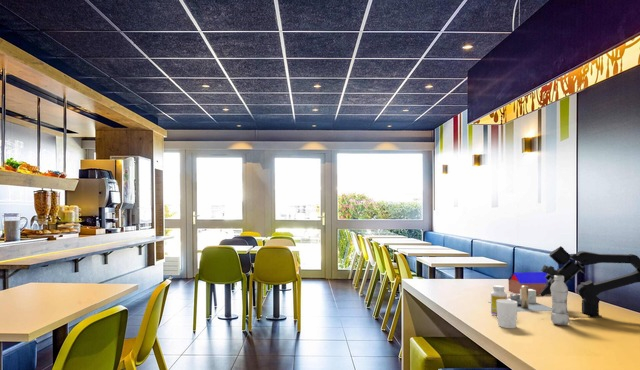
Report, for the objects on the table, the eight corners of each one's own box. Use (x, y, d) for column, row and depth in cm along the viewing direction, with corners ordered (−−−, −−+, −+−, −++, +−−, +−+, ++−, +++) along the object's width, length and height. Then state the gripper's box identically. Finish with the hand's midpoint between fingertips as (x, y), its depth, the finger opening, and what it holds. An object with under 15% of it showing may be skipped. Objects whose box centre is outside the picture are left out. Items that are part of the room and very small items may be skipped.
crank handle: (535, 308, 199) (535, 286, 200) (517, 308, 198) (517, 286, 199) (517, 301, 214) (517, 280, 215) (500, 301, 213) (500, 281, 214)
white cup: (500, 322, 179) (499, 298, 179) (520, 325, 174) (519, 301, 174) (494, 326, 173) (493, 301, 173) (514, 330, 168) (514, 304, 168)
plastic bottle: (560, 327, 172) (559, 277, 173) (547, 323, 178) (546, 274, 179) (573, 326, 173) (572, 276, 174) (559, 322, 180) (558, 274, 181)
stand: (558, 312, 196) (558, 297, 196) (509, 313, 193) (509, 298, 194) (532, 303, 216) (532, 289, 216) (487, 303, 213) (487, 289, 214)
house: (507, 291, 247) (507, 271, 248) (539, 290, 250) (539, 270, 250) (520, 295, 235) (519, 274, 236) (553, 294, 238) (553, 273, 239)
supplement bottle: (508, 317, 187) (508, 287, 188) (492, 316, 188) (492, 287, 189) (505, 313, 193) (504, 285, 194) (489, 313, 195) (489, 284, 195)
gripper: (549, 257, 206) (524, 278, 209) (556, 261, 189) (529, 285, 192) (568, 274, 203) (542, 296, 206) (577, 280, 186) (550, 304, 189)
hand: (540, 295), depth 198 cm, fingers closed
